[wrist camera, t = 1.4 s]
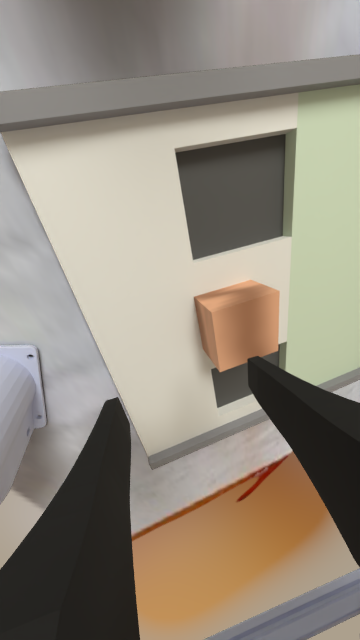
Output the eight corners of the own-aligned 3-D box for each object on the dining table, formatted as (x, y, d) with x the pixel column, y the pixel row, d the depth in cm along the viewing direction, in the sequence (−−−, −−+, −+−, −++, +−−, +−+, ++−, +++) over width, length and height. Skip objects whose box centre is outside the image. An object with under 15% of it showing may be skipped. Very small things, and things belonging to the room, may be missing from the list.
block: (202, 349, 22) (220, 372, 19) (193, 296, 19) (211, 312, 16) (253, 331, 23) (278, 350, 20) (250, 279, 20) (279, 290, 17)
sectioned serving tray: (148, 451, 28) (151, 469, 26) (0, 116, 13) (-23, 93, 10) (356, 364, 34) (373, 373, 32) (430, 64, 19) (473, 42, 16)
